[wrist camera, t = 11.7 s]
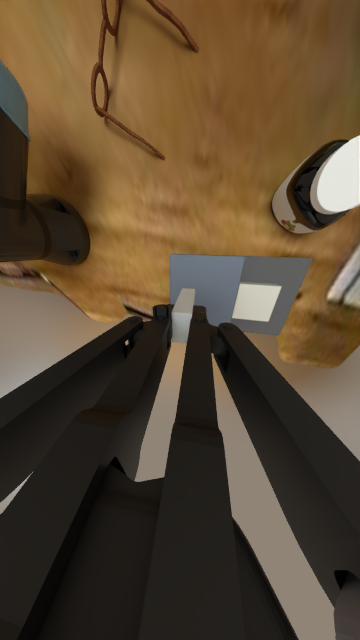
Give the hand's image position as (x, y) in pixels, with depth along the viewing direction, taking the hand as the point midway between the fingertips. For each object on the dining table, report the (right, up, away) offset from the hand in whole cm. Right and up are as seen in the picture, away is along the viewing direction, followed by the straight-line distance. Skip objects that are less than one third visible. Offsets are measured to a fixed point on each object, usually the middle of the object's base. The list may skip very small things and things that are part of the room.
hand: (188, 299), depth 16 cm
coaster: (+18, +3, +19) cm, 26 cm away
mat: (+20, +3, +19) cm, 28 cm away
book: (+5, +4, +21) cm, 22 cm away
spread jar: (+23, +21, +10) cm, 33 cm away
